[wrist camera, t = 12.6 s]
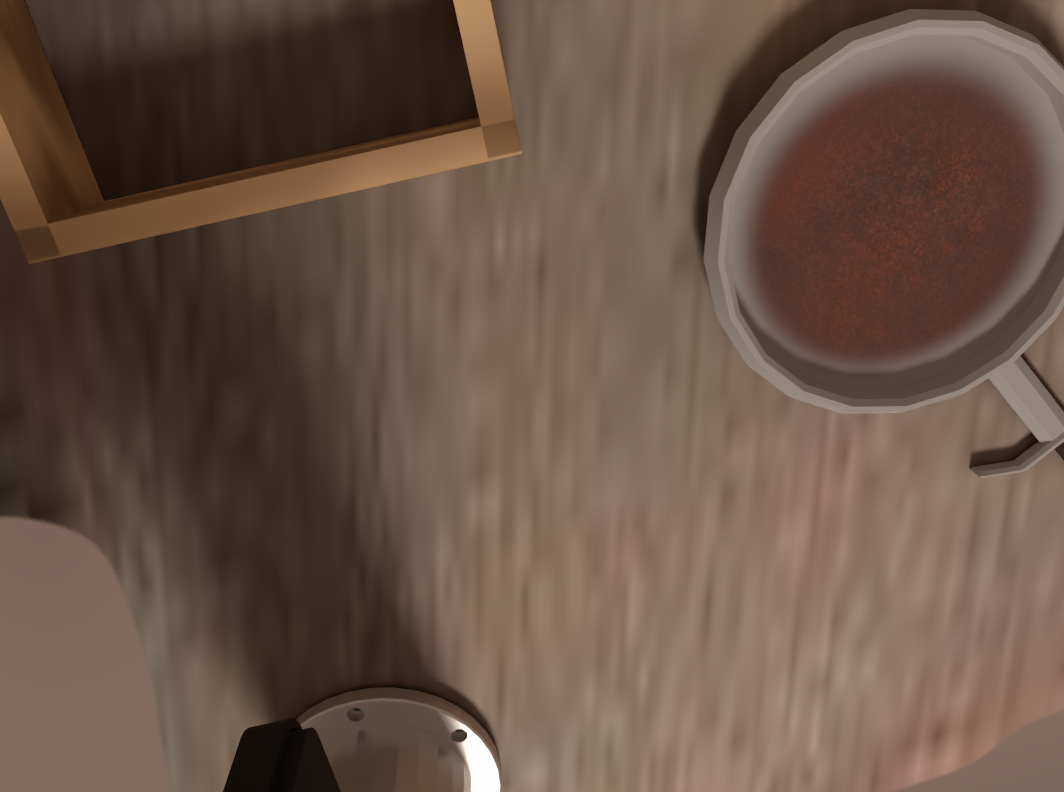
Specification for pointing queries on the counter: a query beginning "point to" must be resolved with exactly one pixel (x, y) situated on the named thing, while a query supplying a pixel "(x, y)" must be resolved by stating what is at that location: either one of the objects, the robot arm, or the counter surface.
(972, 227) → the frying pan
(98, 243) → the rack
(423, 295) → the counter surface
